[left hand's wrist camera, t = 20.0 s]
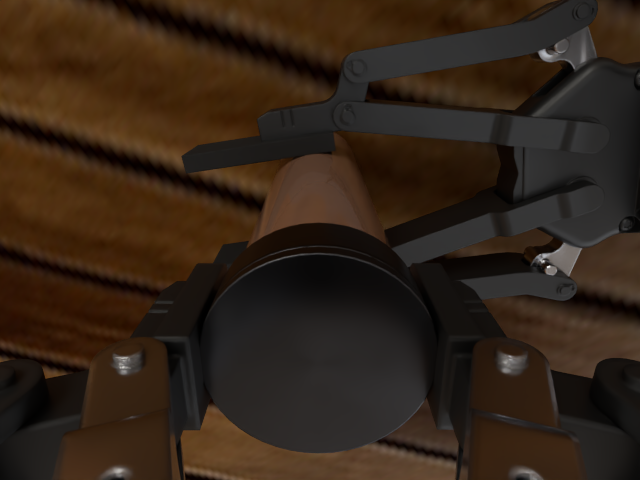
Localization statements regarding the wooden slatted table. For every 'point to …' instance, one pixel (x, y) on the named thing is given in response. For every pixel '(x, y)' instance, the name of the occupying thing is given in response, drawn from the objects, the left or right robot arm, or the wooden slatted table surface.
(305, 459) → the wooden slatted table surface
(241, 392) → the lid
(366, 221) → the brown rounded cylinder
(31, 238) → the wooden slatted table surface
